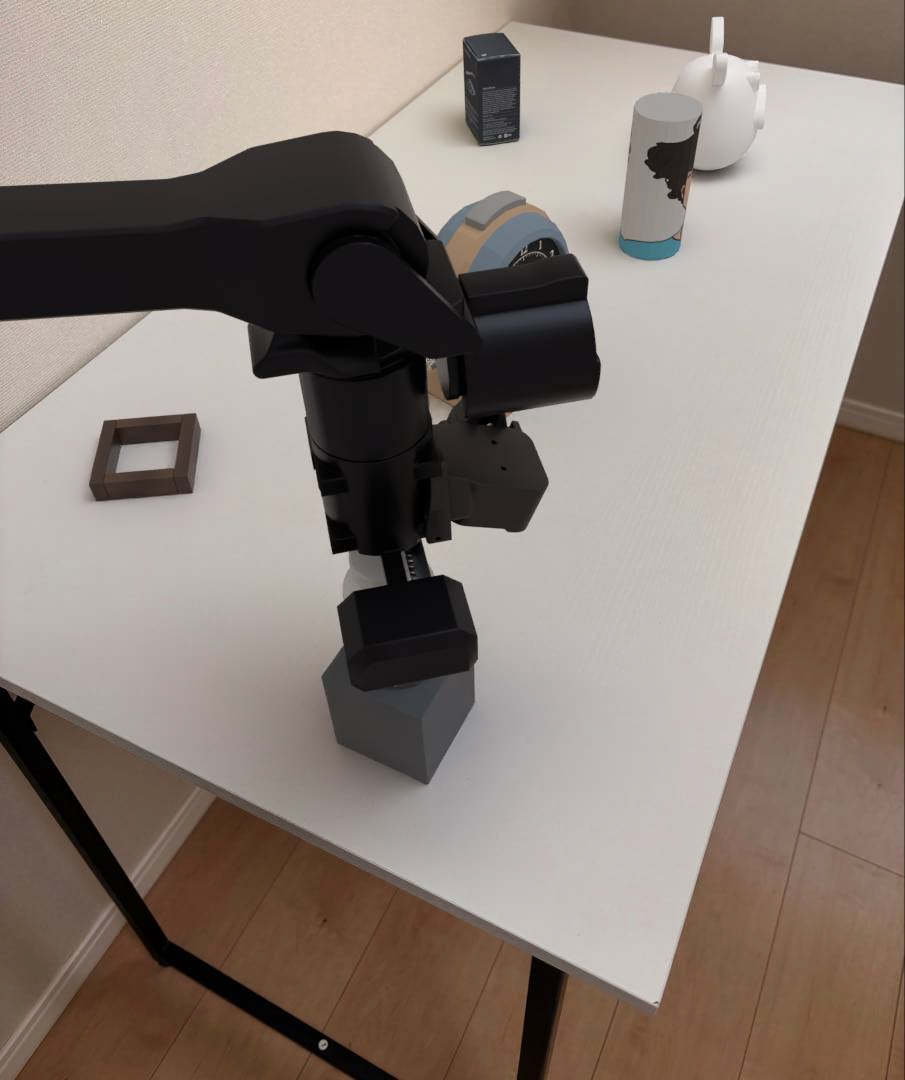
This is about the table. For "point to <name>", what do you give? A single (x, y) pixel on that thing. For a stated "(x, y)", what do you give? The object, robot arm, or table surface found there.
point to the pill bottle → (367, 573)
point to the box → (492, 88)
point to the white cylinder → (659, 174)
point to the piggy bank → (723, 102)
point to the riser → (399, 718)
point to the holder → (147, 481)
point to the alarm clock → (496, 243)
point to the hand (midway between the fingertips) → (394, 621)
